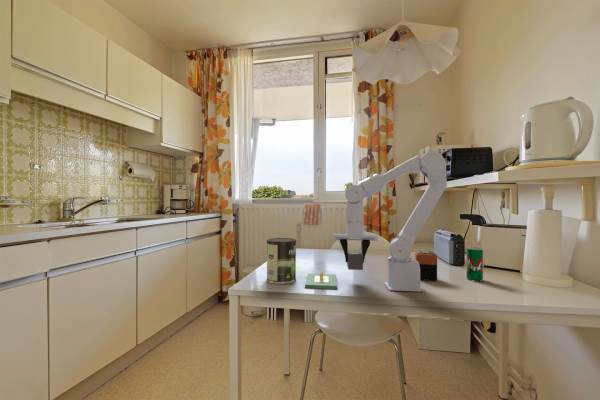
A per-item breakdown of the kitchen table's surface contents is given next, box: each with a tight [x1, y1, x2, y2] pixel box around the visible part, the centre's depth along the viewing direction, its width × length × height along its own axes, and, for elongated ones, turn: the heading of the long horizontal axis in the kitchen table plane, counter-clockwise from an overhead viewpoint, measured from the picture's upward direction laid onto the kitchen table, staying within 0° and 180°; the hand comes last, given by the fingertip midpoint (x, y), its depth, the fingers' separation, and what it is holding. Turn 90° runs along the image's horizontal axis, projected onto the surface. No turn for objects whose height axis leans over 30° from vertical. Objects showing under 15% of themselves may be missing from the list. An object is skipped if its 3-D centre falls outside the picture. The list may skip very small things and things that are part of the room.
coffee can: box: [266, 237, 297, 285], centre depth 100 cm, size 10×10×14 cm
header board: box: [304, 269, 338, 290], centre depth 97 cm, size 10×14×4 cm
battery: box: [414, 250, 438, 282], centre depth 102 cm, size 4×7×10 cm, turn 74°
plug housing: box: [346, 249, 364, 271], centre depth 96 cm, size 5×8×5 cm, turn 174°
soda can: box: [465, 244, 484, 282], centre depth 102 cm, size 5×5×12 cm
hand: (354, 262), depth 96 cm, fingers closed on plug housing, 5 cm apart
